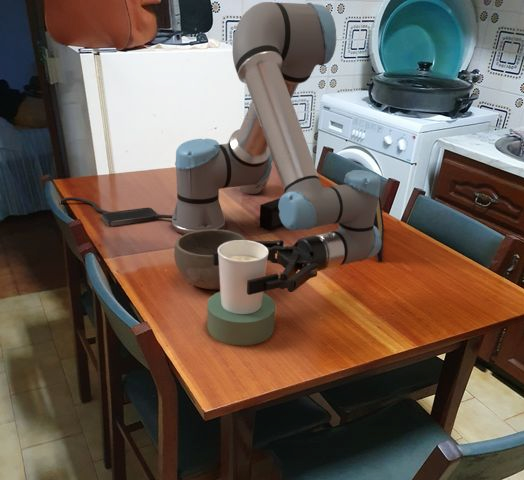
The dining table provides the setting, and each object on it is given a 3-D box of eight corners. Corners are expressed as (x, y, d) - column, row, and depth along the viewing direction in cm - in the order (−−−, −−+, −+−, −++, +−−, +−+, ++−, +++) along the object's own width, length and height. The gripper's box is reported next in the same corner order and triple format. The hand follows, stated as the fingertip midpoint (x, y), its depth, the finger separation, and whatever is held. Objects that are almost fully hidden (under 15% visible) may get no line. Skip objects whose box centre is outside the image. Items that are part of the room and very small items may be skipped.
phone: (158, 216, 160) (107, 222, 154) (159, 219, 161) (108, 226, 155) (150, 207, 166) (100, 213, 160) (150, 210, 167) (101, 216, 160)
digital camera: (272, 233, 157) (274, 209, 153) (258, 227, 160) (260, 204, 156) (295, 224, 164) (297, 201, 160) (281, 218, 167) (283, 196, 163)
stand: (195, 334, 112) (194, 311, 109) (225, 304, 122) (225, 282, 119) (258, 352, 108) (259, 329, 104) (283, 319, 118) (285, 297, 115)
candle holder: (271, 298, 115) (275, 245, 108) (255, 320, 107) (258, 265, 100) (228, 289, 117) (229, 236, 110) (209, 310, 109) (209, 255, 102)
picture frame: (382, 261, 145) (385, 206, 137) (348, 260, 147) (349, 206, 139) (383, 229, 164) (387, 179, 156) (353, 229, 166) (355, 179, 157)
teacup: (275, 195, 184) (277, 171, 179) (241, 199, 179) (241, 174, 175) (258, 182, 195) (259, 159, 191) (225, 184, 191) (225, 161, 186)
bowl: (181, 262, 139) (180, 224, 133) (251, 266, 139) (252, 229, 133) (169, 295, 125) (167, 254, 119) (247, 299, 125) (249, 259, 119)
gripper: (286, 216, 122) (201, 231, 113) (358, 259, 105) (265, 282, 96) (283, 247, 127) (201, 264, 117) (352, 294, 110) (263, 319, 100)
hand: (230, 272), depth 106 cm, fingers open, 13 cm apart
